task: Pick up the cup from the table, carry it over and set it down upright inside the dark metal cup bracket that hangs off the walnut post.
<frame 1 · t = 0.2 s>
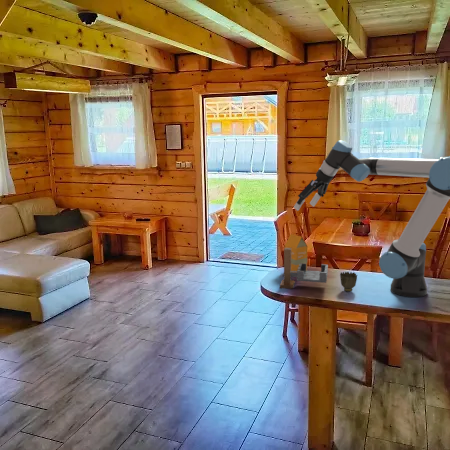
hand: (303, 206, 214), 35 cm above the table, tool tilted 35°, fingers open, 13 cm apart
orange juice: (295, 273, 227), on the table
cup: (348, 291, 201), on the table
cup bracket: (312, 287, 206), on the table
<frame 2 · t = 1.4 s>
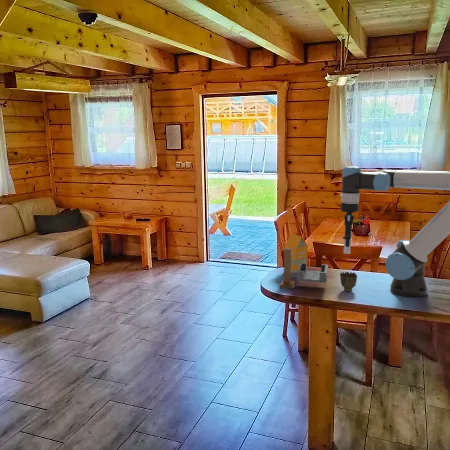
hand: (347, 249, 198), 19 cm above the table, tool pointing down, fingers open, 13 cm apart
nothing on the table moved.
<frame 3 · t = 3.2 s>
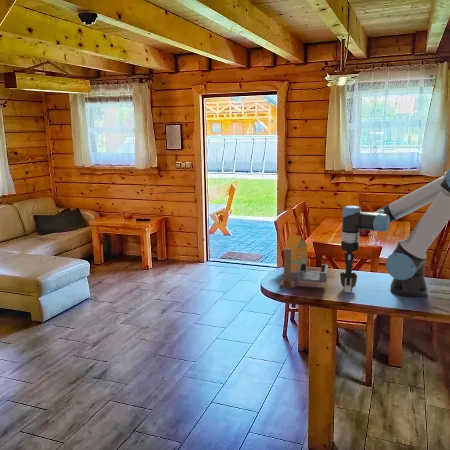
hand: (347, 286, 200), 2 cm above the table, tool pointing down, fingers open, 13 cm apart
nothing on the table moved.
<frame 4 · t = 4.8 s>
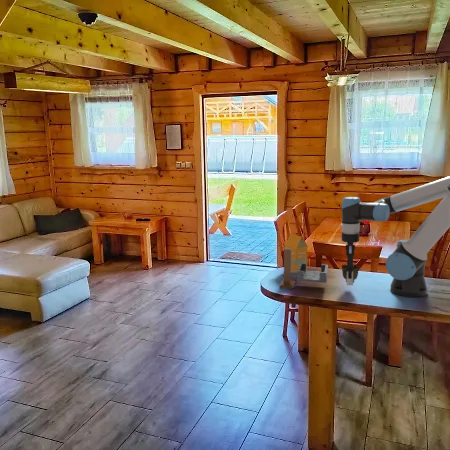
hand: (349, 282, 199), 4 cm above the table, tool pointing down, fingers closed on cup, 7 cm apart
cup: (350, 283, 199), point 4 cm above the table, touching gripper
everything else where it was.
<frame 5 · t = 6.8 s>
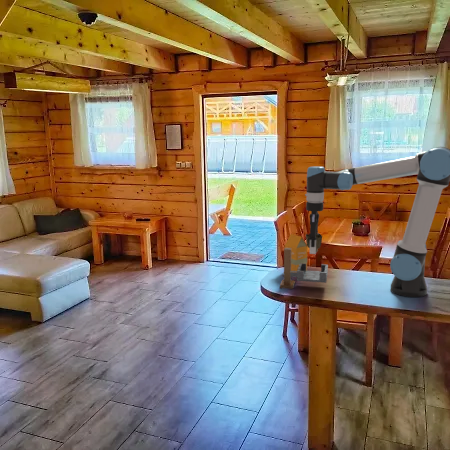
hand: (313, 251, 202), 17 cm above the table, tool pointing down, fingers closed on cup, 7 cm apart
cup: (313, 252, 202), point 17 cm above the table, touching gripper
everything else where it was.
when the fingers open (8 cm above the table, at t = 9.0 s): cup drops 1 cm, resting on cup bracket.
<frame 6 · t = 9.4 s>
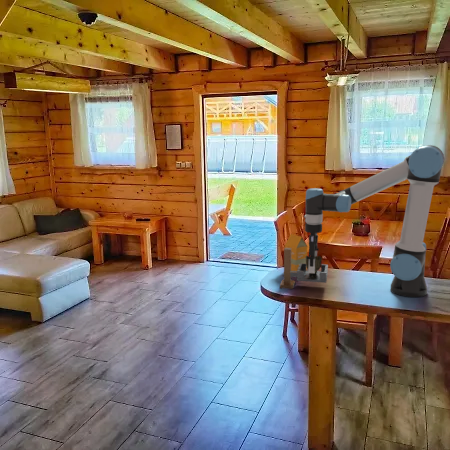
hand: (312, 268, 204), 9 cm above the table, tool pointing down, fingers open, 13 cm apart
cup: (313, 274, 207), point 6 cm above the table, touching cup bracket
everything else where it was.
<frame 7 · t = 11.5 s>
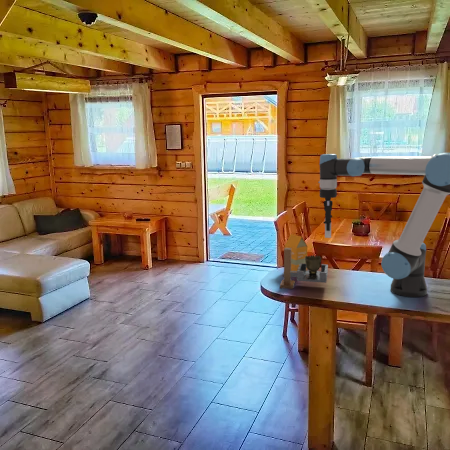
hand: (327, 234, 205), 24 cm above the table, tool pointing down, fingers open, 13 cm apart
nothing on the table moved.
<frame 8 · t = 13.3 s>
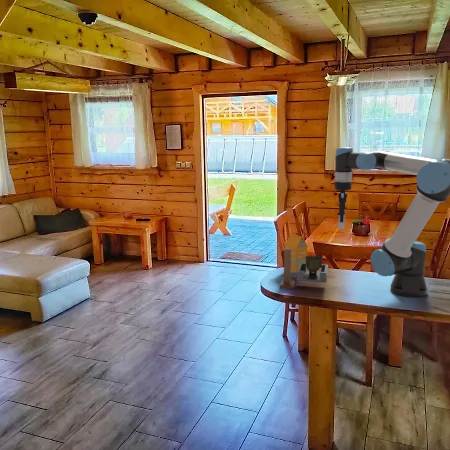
hand: (341, 225, 210), 27 cm above the table, tool pointing down, fingers open, 13 cm apart
nothing on the table moved.
at the end: cup 2.2 cm off-centre on the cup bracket, point 5.8 cm above the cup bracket's base; cup tilted 0°; the gripper is holding nothing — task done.
